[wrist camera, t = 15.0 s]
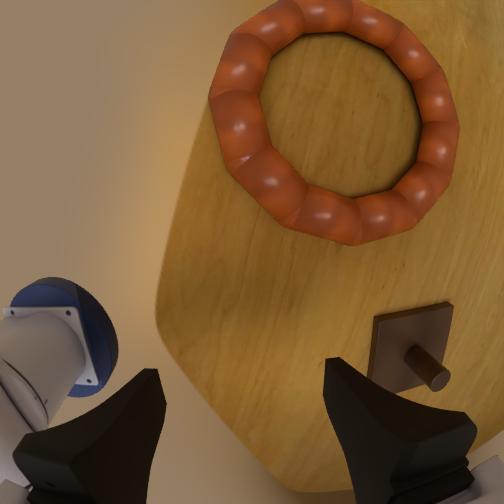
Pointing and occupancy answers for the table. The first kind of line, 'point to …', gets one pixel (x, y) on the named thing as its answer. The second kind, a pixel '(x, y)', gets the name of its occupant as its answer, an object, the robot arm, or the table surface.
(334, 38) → the table surface
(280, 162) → the ring
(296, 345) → the table surface
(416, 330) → the square peg base
